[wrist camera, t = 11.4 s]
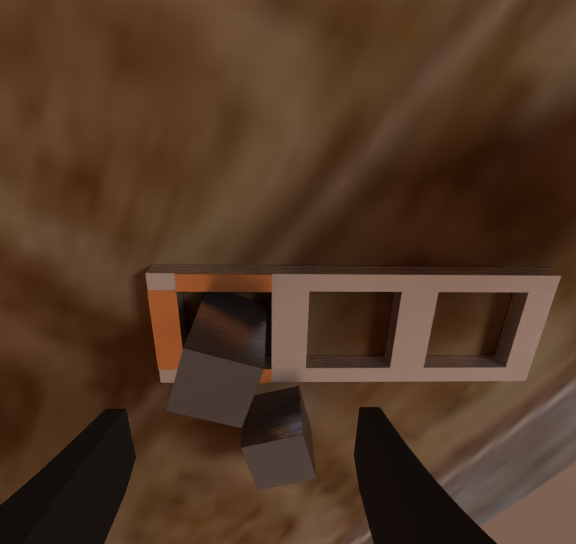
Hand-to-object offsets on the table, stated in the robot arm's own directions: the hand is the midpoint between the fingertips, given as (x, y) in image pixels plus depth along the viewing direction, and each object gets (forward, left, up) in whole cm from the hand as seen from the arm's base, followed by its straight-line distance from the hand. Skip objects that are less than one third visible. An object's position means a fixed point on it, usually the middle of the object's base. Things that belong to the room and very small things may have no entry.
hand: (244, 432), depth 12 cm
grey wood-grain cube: (-1, +9, -10) cm, 14 cm away
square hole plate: (-5, +2, -10) cm, 12 cm away
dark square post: (+2, +2, -10) cm, 11 cm away
